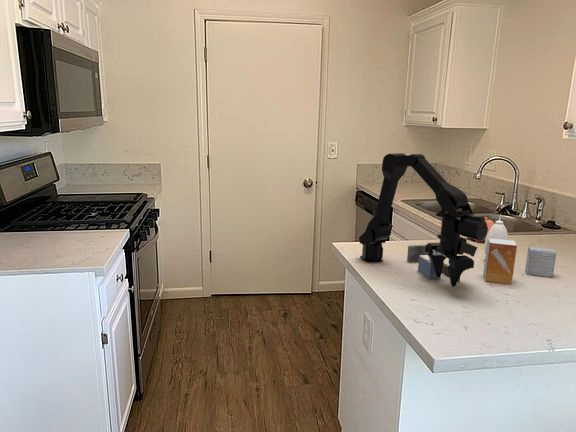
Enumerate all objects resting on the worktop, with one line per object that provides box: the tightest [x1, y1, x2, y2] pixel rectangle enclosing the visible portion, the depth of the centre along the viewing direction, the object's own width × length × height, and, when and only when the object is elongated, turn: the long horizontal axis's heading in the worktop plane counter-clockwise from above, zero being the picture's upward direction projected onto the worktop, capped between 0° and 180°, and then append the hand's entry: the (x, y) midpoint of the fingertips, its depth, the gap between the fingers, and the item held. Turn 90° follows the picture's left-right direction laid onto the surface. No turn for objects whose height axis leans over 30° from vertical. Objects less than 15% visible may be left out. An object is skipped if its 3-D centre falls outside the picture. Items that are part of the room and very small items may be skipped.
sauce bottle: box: [484, 213, 510, 255], centre depth 168 cm, size 8×8×18 cm
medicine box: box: [525, 246, 557, 278], centre depth 157 cm, size 8×4×9 cm, turn 71°
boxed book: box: [417, 255, 442, 280], centre depth 154 cm, size 4×8×6 cm, turn 12°
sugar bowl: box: [470, 216, 495, 243], centre depth 199 cm, size 12×14×10 cm
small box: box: [482, 238, 518, 285], centre depth 150 cm, size 8×6×13 cm
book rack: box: [406, 244, 461, 283], centre depth 158 cm, size 8×22×6 cm, turn 12°
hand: (445, 281), depth 144 cm, fingers open, 8 cm apart
